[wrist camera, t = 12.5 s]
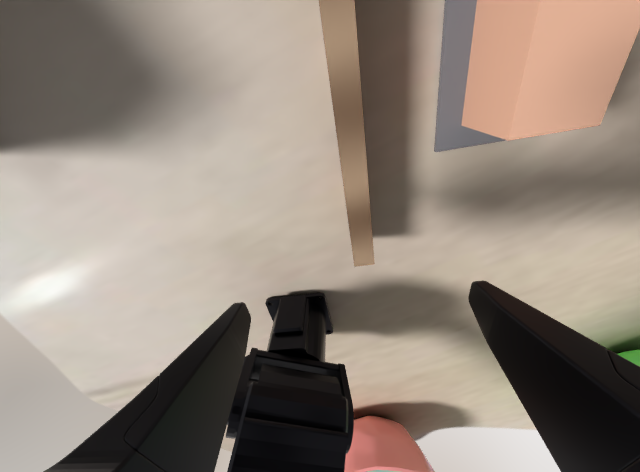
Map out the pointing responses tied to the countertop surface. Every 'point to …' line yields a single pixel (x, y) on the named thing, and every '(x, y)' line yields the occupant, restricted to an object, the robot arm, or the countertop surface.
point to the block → (546, 64)
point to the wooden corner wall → (349, 120)
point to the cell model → (384, 448)
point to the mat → (456, 79)
